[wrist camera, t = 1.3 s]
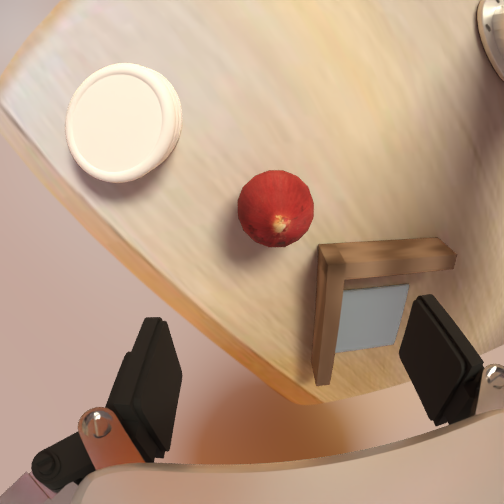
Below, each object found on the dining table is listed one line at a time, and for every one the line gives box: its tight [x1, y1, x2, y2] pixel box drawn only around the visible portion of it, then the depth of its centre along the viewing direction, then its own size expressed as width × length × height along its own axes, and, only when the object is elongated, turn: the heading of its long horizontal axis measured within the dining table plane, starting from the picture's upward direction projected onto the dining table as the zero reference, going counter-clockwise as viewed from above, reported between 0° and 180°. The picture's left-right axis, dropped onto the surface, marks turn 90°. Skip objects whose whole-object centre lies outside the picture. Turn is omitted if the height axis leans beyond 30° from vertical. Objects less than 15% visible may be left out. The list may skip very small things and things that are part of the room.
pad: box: [335, 284, 409, 353], centre depth 33 cm, size 9×9×1 cm
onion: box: [238, 170, 314, 247], centre depth 23 cm, size 6×6×8 cm
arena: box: [311, 238, 457, 386], centre depth 30 cm, size 14×16×4 cm
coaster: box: [65, 63, 182, 183], centre depth 22 cm, size 10×10×4 cm
